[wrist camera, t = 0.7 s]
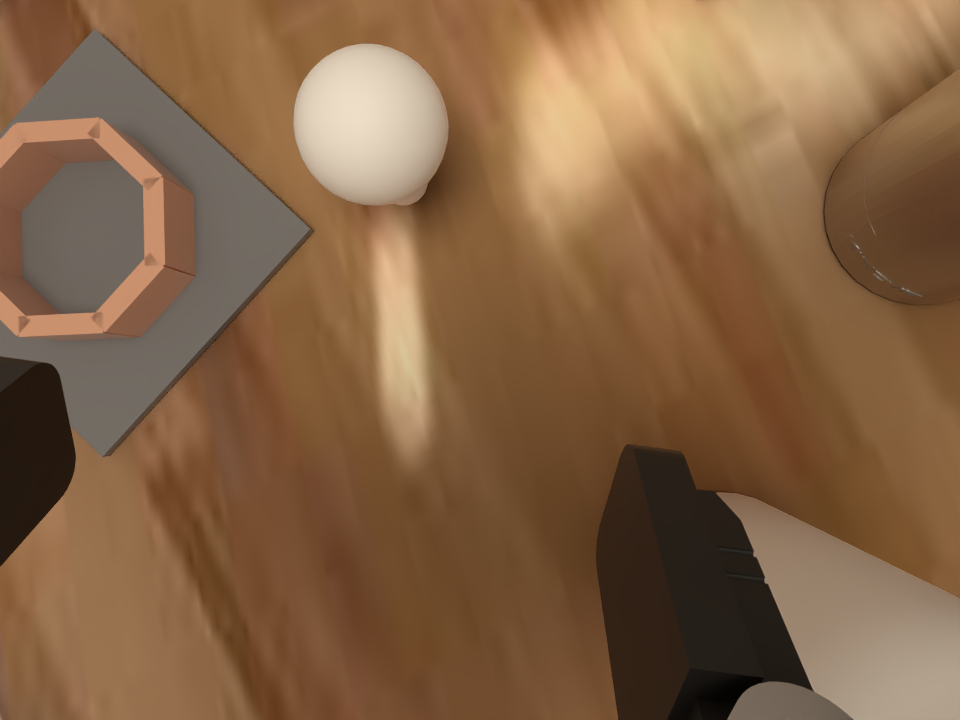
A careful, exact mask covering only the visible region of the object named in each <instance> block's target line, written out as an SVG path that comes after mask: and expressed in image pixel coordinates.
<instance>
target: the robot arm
mask: <svg viewBox="0 0 960 720" xmlns="http://www.w3.org/2000/svg"><path fill="white" fill-rule="evenodd" d="M824 213H825V223H826V231H827V234H828V237H829V240H830V243H831V246H832V249H833V251H834V252H835V254H836V256H837V257H838V259H839V261H840V262H841V264H842V266H843V267H844V268H845V269H846V270H847V271H848V272H849V273H850V274H851V275H852V277H853V278H854V279H855V280H856V281H858V282H859V283H860V284H862V285H863V286H865V287H866V288H868V289H869V290H870V291H872V292H873V293H876V294H878V295H880V296H883V297H885V298H887V299H890V300H892V301H897V302H902V303H907V304H938V303H943V302H948V301H954V300H959V299H960V68H959V69H958V70H957V71H955V72H954V73H952V74H951V75H950V76H948V77H947V78H946V79H944V80H943V81H941V82H940V83H939V84H937V85H936V86H934V87H933V88H932V89H930V90H929V91H928V92H926V93H925V94H923V95H922V96H921V97H919V98H918V99H916V100H915V101H914V102H912V103H911V104H909V105H908V106H906V107H905V108H903V109H902V110H901V111H899V112H898V113H897V114H895V115H894V116H893V117H891V118H890V119H888V120H887V121H886V122H884V123H883V124H882V125H880V126H879V127H877V128H876V129H875V130H873V131H872V132H871V133H869V134H868V135H867V136H865V137H864V138H862V139H861V140H860V141H858V142H857V143H856V144H855V145H854V146H853V147H852V148H851V149H850V150H849V151H848V152H847V153H846V154H845V155H844V156H843V158H842V159H841V161H840V163H839V164H838V166H837V168H836V169H835V171H834V173H833V174H832V177H831V180H830V183H829V186H828V189H827V192H826V201H825V210H824ZM75 461H76V454H75V448H74V443H73V438H72V433H71V428H70V423H69V418H68V413H67V408H66V403H65V398H64V393H63V388H62V383H61V378H60V375H59V373H58V371H57V369H56V368H55V367H54V366H53V365H52V364H49V363H45V362H38V361H31V360H23V359H16V358H9V357H2V356H0V566H1V565H2V564H3V563H4V562H5V561H6V560H7V558H8V557H9V556H10V555H11V554H12V553H13V552H14V551H15V549H16V548H17V547H18V546H19V545H20V544H21V543H22V542H23V540H24V539H25V538H26V537H27V536H28V535H29V534H30V532H31V531H32V530H33V529H34V528H35V527H36V526H37V525H38V523H39V522H40V521H41V520H42V519H43V518H44V517H45V515H46V514H47V513H48V512H49V511H50V510H51V509H52V508H53V506H54V505H55V504H56V503H57V502H58V501H59V500H60V498H61V497H62V496H63V495H64V493H65V492H66V490H67V488H68V486H69V484H70V482H71V479H72V476H73V473H74V469H75ZM753 553H754V550H753V547H752V545H751V543H750V540H749V538H748V536H747V533H746V531H745V529H744V526H743V524H742V522H741V520H740V519H739V517H738V516H737V515H736V514H735V513H734V512H733V511H732V510H731V509H730V508H729V507H728V506H727V504H726V503H725V502H724V501H723V500H722V499H721V498H720V497H719V496H718V495H717V494H716V492H711V491H704V490H697V489H696V487H695V485H694V482H693V479H692V476H691V474H690V471H689V468H688V465H687V463H686V460H685V457H684V455H683V454H682V452H680V451H675V450H668V449H661V448H653V447H646V446H639V445H631V444H628V445H626V446H625V447H624V449H623V451H622V453H621V456H620V459H619V463H618V466H617V469H616V473H615V476H614V480H613V483H612V486H611V490H610V493H609V496H608V500H607V503H606V506H605V510H604V513H603V516H602V520H601V523H600V527H599V532H598V539H597V552H596V562H597V573H598V580H599V587H600V594H601V601H602V608H603V615H604V622H605V629H606V636H607V643H608V650H609V657H610V664H611V671H612V678H613V685H614V692H615V699H616V706H617V713H618V720H853V719H852V718H851V717H850V716H849V715H848V714H847V713H845V712H844V711H843V710H842V709H841V708H839V707H838V706H837V705H835V704H834V703H832V702H831V701H830V700H828V699H826V698H825V697H823V696H821V695H819V694H818V693H816V692H814V690H813V688H812V686H811V684H810V682H809V679H808V677H807V675H806V672H805V670H804V668H803V665H802V663H801V660H800V658H799V656H798V653H797V651H796V649H795V646H794V644H793V642H792V639H791V637H790V635H789V632H788V630H787V627H786V625H785V623H784V620H783V618H782V616H781V613H780V611H779V609H778V606H777V604H776V602H775V599H774V597H773V595H772V592H771V590H770V587H769V585H768V584H766V583H765V582H764V579H765V576H764V573H763V571H762V569H761V566H760V564H759V562H758V559H757V557H754V556H753Z"/></svg>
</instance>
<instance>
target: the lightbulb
mask: <svg viewBox="0 0 960 720" xmlns="http://www.w3.org/2000/svg"><path fill="white" fill-rule="evenodd" d="M448 128H449V124H448V117H447V111H446V107H445V104H444V101H443V98H442V95H441V93H440V90H439V89H438V87H437V85H436V84H435V82H434V81H433V79H432V78H431V77H430V75H429V74H428V73H427V72H426V71H425V70H424V69H423V68H422V67H421V66H420V65H419V63H417V62H416V61H414V60H413V59H412V58H410V57H409V56H407V55H406V54H404V53H401V52H399V51H397V50H395V49H392V48H390V47H387V46H382V45H378V44H358V45H352V46H347V47H345V48H342V49H339V50H337V51H334V52H333V53H331V54H330V55H328V56H326V57H325V58H323V59H322V60H321V61H320V62H319V63H318V64H317V65H316V66H314V67H313V68H312V70H311V71H310V72H309V74H308V75H307V77H306V78H305V79H304V81H303V83H302V85H301V87H300V89H299V92H298V95H297V99H296V102H295V108H294V132H295V140H296V142H297V145H298V148H299V151H300V154H301V157H302V159H303V161H304V163H305V164H306V166H307V168H308V170H309V171H310V172H311V174H312V175H313V176H314V177H315V178H316V179H317V180H318V181H319V182H320V183H321V184H322V185H323V186H324V187H325V188H326V189H328V190H329V191H330V192H332V193H333V194H334V195H336V196H338V197H341V198H343V199H345V200H347V201H350V202H354V203H359V204H363V205H375V206H381V205H387V204H396V205H404V206H405V205H410V204H413V203H415V202H417V201H418V200H419V199H420V198H421V197H422V196H423V195H424V193H425V191H426V189H427V185H428V182H429V181H430V180H431V178H432V177H433V176H434V174H435V173H436V171H437V170H438V168H439V165H440V163H441V161H442V159H443V156H444V153H445V149H446V145H447V141H448Z"/></svg>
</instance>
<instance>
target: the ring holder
mask: <svg viewBox="0 0 960 720" xmlns="http://www.w3.org/2000/svg"><path fill="white" fill-rule="evenodd" d="M313 232H314V231H313V230H312V229H311V228H310V227H309V226H308V225H307V224H305V223H304V222H303V221H302V220H301V219H300V218H299V217H298V216H297V215H296V214H295V213H294V212H293V211H291V210H290V209H289V208H288V207H287V206H286V205H285V204H284V203H283V202H282V201H281V200H280V199H279V198H277V197H276V196H275V195H274V194H273V193H272V192H271V191H270V190H269V189H268V188H267V187H266V186H265V185H263V184H262V183H261V182H260V181H259V180H258V179H257V178H256V177H255V176H254V175H253V174H252V173H250V172H249V171H248V170H247V169H246V168H245V167H244V166H243V165H242V164H241V163H240V162H239V161H238V160H236V159H235V158H234V157H233V156H232V155H231V154H230V153H229V152H228V151H227V150H226V149H225V148H224V147H222V146H221V145H220V144H219V143H218V142H217V141H216V140H215V139H214V138H213V137H212V136H211V135H209V134H208V133H207V132H206V131H205V130H204V129H203V128H202V127H201V126H200V125H199V124H198V123H197V122H195V121H194V120H193V119H192V118H191V117H190V116H189V115H188V114H187V113H186V112H185V111H184V110H183V109H181V108H180V107H179V106H178V105H177V104H176V103H175V102H174V101H173V100H172V99H171V98H170V97H168V96H167V95H166V94H165V93H164V92H163V91H162V90H161V89H160V88H159V87H158V86H157V85H156V84H154V83H153V82H152V81H151V80H150V79H149V78H148V77H147V76H146V75H145V74H144V73H143V72H142V71H140V70H139V69H138V68H137V67H136V66H135V65H134V64H133V63H132V62H131V61H130V60H129V59H127V58H126V57H125V56H124V55H123V54H122V53H121V52H120V51H119V50H118V49H117V48H116V47H115V46H113V45H112V44H111V43H110V42H109V41H108V40H107V39H106V38H105V37H104V36H103V35H102V34H100V33H99V32H98V31H97V30H96V29H94V30H93V31H92V32H91V34H90V35H89V36H88V37H87V38H86V39H85V40H84V41H83V42H82V44H81V45H80V46H79V47H78V48H77V49H76V50H75V51H74V52H73V54H72V55H71V56H70V57H69V58H68V59H67V60H66V61H65V63H64V64H63V65H62V66H61V67H60V68H59V69H58V70H57V71H56V73H55V74H54V75H53V76H52V77H51V78H50V79H49V80H48V81H47V83H46V84H45V85H44V86H43V87H42V88H41V89H40V90H39V91H38V93H37V94H36V95H35V96H34V97H33V98H32V99H31V100H30V101H29V103H28V104H27V105H26V106H25V107H24V108H23V109H22V110H21V112H20V113H19V114H18V115H17V116H16V117H15V118H14V119H13V120H12V122H11V123H10V124H9V125H8V126H7V127H6V128H5V129H4V130H3V132H2V133H1V134H0V356H2V357H9V358H16V359H23V360H31V361H38V362H45V363H49V364H52V365H53V366H54V367H55V368H56V369H57V371H58V373H59V375H60V378H61V383H62V388H63V393H64V398H65V403H66V408H67V413H68V418H69V423H70V425H71V426H72V427H73V428H74V429H75V430H76V431H77V432H78V433H79V434H80V435H81V436H82V437H83V438H84V439H85V440H86V441H87V442H88V443H89V444H90V445H91V446H92V447H93V448H94V449H95V450H96V451H97V452H98V453H99V454H100V455H101V456H102V457H105V456H110V455H111V454H112V452H113V451H114V450H115V449H116V448H117V447H118V446H119V445H120V444H121V443H122V441H123V440H124V439H125V438H126V437H127V436H128V435H129V434H130V433H131V432H132V430H133V429H134V428H135V427H136V426H137V425H138V424H139V423H140V422H141V421H142V420H143V418H144V417H145V416H146V415H147V414H148V413H149V412H150V411H151V410H152V409H153V407H154V406H155V405H156V404H157V403H158V402H159V401H160V400H161V399H162V398H163V396H164V395H165V394H166V393H167V392H168V391H169V390H170V389H171V388H172V387H173V385H174V384H175V383H176V382H177V381H178V380H179V379H180V378H181V377H182V376H183V375H184V373H185V372H186V371H187V370H188V369H189V368H190V367H191V366H192V365H193V364H194V362H195V361H196V360H197V359H198V358H199V357H200V356H201V355H202V354H203V353H204V351H205V350H206V349H207V348H208V347H209V346H210V345H211V344H212V343H213V342H214V341H215V339H216V338H217V337H218V336H219V335H220V334H221V333H222V332H223V331H224V330H225V328H226V327H227V326H228V325H229V324H230V323H231V322H232V321H233V320H234V319H235V317H236V316H237V315H238V314H239V313H240V312H241V311H242V310H243V309H244V308H245V307H246V305H247V304H248V303H249V302H250V301H251V300H252V299H253V298H254V297H255V296H256V294H257V293H258V292H259V291H260V290H261V289H262V288H263V287H264V286H265V285H266V283H267V282H268V281H269V280H270V279H271V278H272V277H273V276H274V275H275V274H276V273H277V271H278V270H279V269H280V268H281V267H282V266H283V265H284V264H285V263H286V262H287V260H288V259H289V258H290V257H291V256H292V255H293V254H294V253H295V252H296V251H297V249H298V248H299V247H300V246H301V245H302V244H303V243H304V242H305V241H306V240H307V239H308V237H309V236H310V235H311V234H312V233H313Z"/></svg>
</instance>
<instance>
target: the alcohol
mask: <svg viewBox="0 0 960 720" xmlns="http://www.w3.org/2000/svg"><path fill="white" fill-rule="evenodd" d="M716 494H717V495H718V496H719V497H720V498H721V499H722V500H723V501H724V502H725V503H726V504H727V506H728V507H729V508H730V509H731V510H732V511H733V512H734V513H735V514H736V515H737V516H738V517H739V519H740V520H741V522H742V524H743V526H744V529H745V531H746V533H747V536H748V538H749V540H750V543H751V545H752V547H753V550H754V553H753V556H754V557H757V559H758V562H759V564H760V566H761V569H762V571H763V573H764V576H765V579H764V582H765V583H766V584H768V585H769V587H770V590H771V592H772V595H773V597H774V599H775V602H776V604H777V606H778V609H779V611H780V613H781V616H782V618H783V620H784V623H785V625H786V627H787V630H788V632H789V635H790V637H791V639H792V642H793V644H794V646H795V649H796V651H797V653H798V656H799V658H800V660H801V663H802V665H803V668H804V670H805V672H806V675H807V677H808V679H809V682H810V684H811V686H812V688H813V690H814V692H816V693H818V694H819V695H821V696H823V697H825V698H826V699H828V700H830V701H831V702H832V703H834V704H835V705H837V706H838V707H839V708H841V709H842V710H843V711H844V712H845V713H847V714H848V715H849V716H850V717H851V718H852V719H853V720H960V598H958V597H956V596H954V595H952V594H950V593H948V592H946V591H944V590H942V589H940V588H938V587H936V586H934V585H932V584H930V583H928V582H926V581H924V580H921V579H919V578H917V577H915V576H913V575H911V574H909V573H907V572H905V571H903V570H901V569H899V568H897V567H895V566H893V565H891V564H889V563H887V562H885V561H883V560H881V559H879V558H877V557H875V556H872V555H870V554H868V553H866V552H864V551H862V550H860V549H858V548H856V547H854V546H852V545H850V544H848V543H846V542H844V541H842V540H840V539H838V538H836V537H834V536H832V535H830V534H828V533H826V532H823V531H821V530H819V529H817V528H815V527H813V526H811V525H809V524H807V523H805V522H803V521H801V520H799V519H797V518H795V517H793V516H791V515H789V514H787V513H785V512H783V511H781V510H779V509H777V508H774V507H772V506H770V505H768V504H766V503H764V502H762V501H760V500H758V499H756V498H753V497H749V496H745V495H742V494H738V493H725V492H716Z"/></svg>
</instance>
